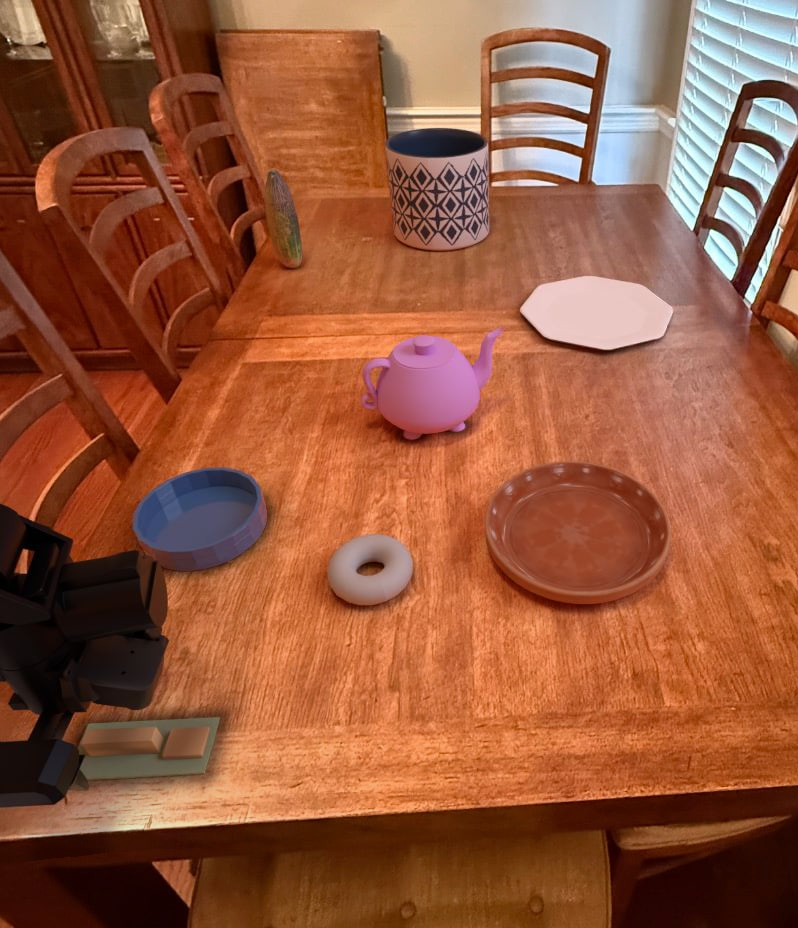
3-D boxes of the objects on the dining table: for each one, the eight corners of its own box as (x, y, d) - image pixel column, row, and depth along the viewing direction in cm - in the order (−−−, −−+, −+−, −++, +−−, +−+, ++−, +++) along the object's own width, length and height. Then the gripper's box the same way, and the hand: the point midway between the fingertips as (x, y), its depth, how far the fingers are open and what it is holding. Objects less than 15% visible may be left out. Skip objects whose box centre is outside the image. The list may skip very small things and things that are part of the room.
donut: (378, 536, 88) (312, 579, 82) (375, 516, 86) (307, 559, 80) (431, 577, 83) (364, 626, 77) (429, 557, 81) (360, 606, 75)
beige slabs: (211, 730, 67) (204, 717, 66) (203, 757, 65) (195, 745, 64) (99, 735, 67) (89, 722, 65) (87, 764, 65) (77, 751, 63)
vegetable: (271, 270, 147) (249, 172, 134) (285, 258, 152) (265, 163, 139) (297, 273, 146) (278, 175, 133) (311, 261, 151) (293, 165, 138)
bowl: (253, 568, 84) (246, 548, 81) (123, 574, 83) (113, 554, 81) (277, 484, 95) (272, 465, 93) (164, 488, 94) (156, 469, 92)
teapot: (491, 379, 116) (490, 303, 107) (518, 433, 104) (520, 354, 96) (358, 400, 111) (346, 323, 102) (372, 459, 100) (359, 378, 91)
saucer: (702, 582, 83) (708, 561, 80) (524, 637, 76) (524, 616, 74) (615, 465, 99) (618, 445, 97) (462, 503, 93) (461, 482, 90)
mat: (64, 781, 64) (63, 780, 64) (89, 725, 68) (88, 723, 68) (204, 774, 64) (203, 772, 64) (220, 718, 69) (219, 716, 69)
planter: (423, 210, 175) (416, 123, 161) (504, 224, 168) (504, 134, 155) (375, 242, 159) (364, 149, 146) (463, 259, 152) (459, 163, 139)
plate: (565, 366, 119) (566, 359, 118) (501, 298, 138) (501, 291, 137) (698, 334, 128) (699, 327, 127) (620, 275, 147) (621, 268, 146)
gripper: (87, 746, 48) (159, 840, 58) (171, 548, 62) (217, 651, 72) (-81, 755, 47) (21, 848, 58) (43, 553, 62) (108, 656, 72)
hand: (103, 739), depth 65 cm, fingers open, 9 cm apart
